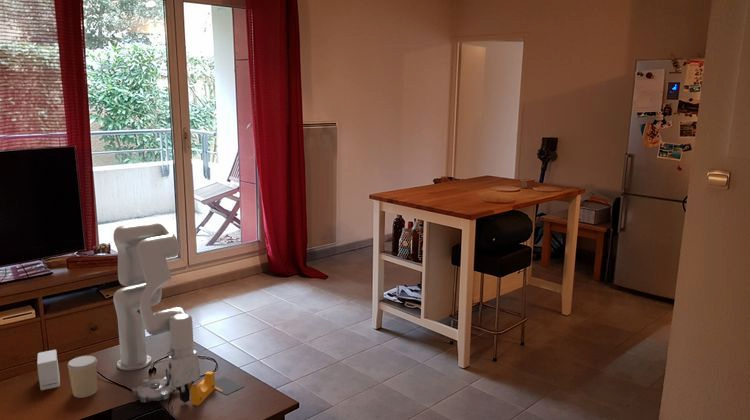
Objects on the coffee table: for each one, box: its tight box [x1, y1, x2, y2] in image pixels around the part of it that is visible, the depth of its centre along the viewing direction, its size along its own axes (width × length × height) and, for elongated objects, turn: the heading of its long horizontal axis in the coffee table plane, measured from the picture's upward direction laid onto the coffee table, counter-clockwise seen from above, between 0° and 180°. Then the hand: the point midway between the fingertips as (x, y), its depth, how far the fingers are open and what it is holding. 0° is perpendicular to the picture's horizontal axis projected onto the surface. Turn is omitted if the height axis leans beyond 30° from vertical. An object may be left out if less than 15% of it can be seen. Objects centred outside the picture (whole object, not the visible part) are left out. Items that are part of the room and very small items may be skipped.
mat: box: [214, 376, 245, 396], centre depth 213 cm, size 12×8×1 cm, turn 51°
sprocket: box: [131, 368, 179, 403], centre depth 205 cm, size 15×14×7 cm
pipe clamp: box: [190, 370, 216, 406], centre depth 205 cm, size 12×4×6 cm, turn 168°
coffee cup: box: [67, 355, 98, 398], centre depth 206 cm, size 9×9×12 cm
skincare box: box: [36, 349, 61, 391], centre depth 213 cm, size 10×6×10 cm, turn 29°
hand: (184, 400), depth 200 cm, fingers closed
